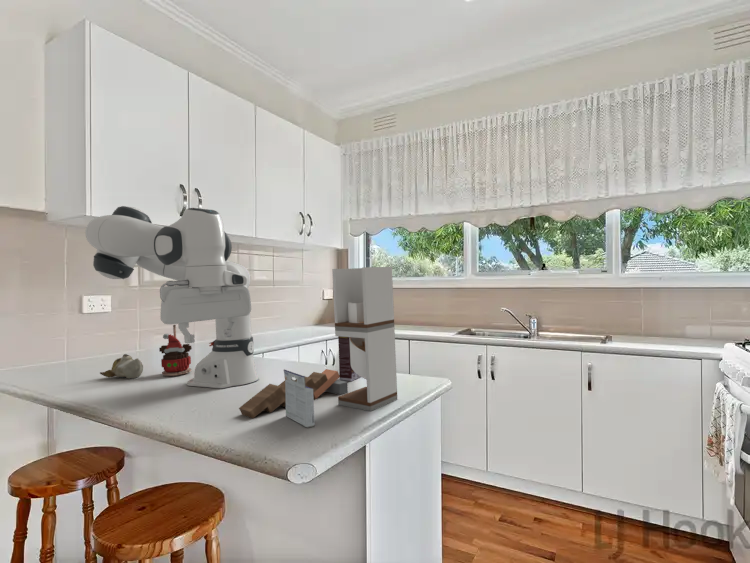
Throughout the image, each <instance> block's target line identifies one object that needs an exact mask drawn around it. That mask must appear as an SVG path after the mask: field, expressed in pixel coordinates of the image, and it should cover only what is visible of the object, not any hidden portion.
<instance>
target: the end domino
mask: <svg viewBox="0 0 750 563" xmlns="http://www.w3.org/2000/svg"><path fill="white" fill-rule="evenodd" d="M321 373H322V374H325V375H326V377H327V379H328V380H327V381H326V382H325V383H324V384H323V385H322V386H321V387H320V388H319V389H317V390H316V391H315V392H314V393H313V397H314V399H315V400H317V399H318V398H319V397H321V395H322V394H324V393H325V390H326V389H328V388H329V387H330V386H331V385H332V384H333V383H334V382H335V381H336V380H339V379H340V376H339V372H338V370H334V369H333V370H332V369H328V368H327V369H324V370H323V371H322V372H321Z"/></svg>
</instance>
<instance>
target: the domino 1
mask: <svg viewBox="0 0 750 563" xmlns="http://www.w3.org/2000/svg"><path fill="white" fill-rule="evenodd" d="M283 393H284V392H283V390H282V388H281V386H278V384H277V385H276V384H272V383H269V384H268V385H266V386H265V387H264V388H262V389H261V390H260V391H258V392H257V393H256V394H255V395H254V396H252V397H251V398H250V399H249V400H247V401H246V402H245V403H243V404H242V405H241V406H240V407H238V409H239V411H240V413H241V415H242V416H245V417H247V416H248V417H247V418H250V419H255V418H256V417H257V416H258V415H259V414H261V413H262V412H263V410H264V409H265V408H266V407H268V406H269V405H270V404H271V403H272V402H274V401H275V400H276V399H277V398H278V397H280V396H281V395H282V394H283Z"/></svg>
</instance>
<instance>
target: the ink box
mask: <svg viewBox="0 0 750 563" xmlns="http://www.w3.org/2000/svg"><path fill="white" fill-rule="evenodd" d="M283 374H284V381H285V392H286V407H285V416H286V417H287V418H289V419H291V420H292V421H295V422H296V423H298V424H299V425H301V426H303V427H305V428H307V429H309V428H311V427H315V405H314V404H315V402H314V397H313V389H312V388H309V387H307V386H305V377H306V375H302V374H298V373H296V372H293V371H289V370H287V369H285V368H284V369H283ZM293 378H294V379H293ZM296 379H297V381H295V380H296Z"/></svg>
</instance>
